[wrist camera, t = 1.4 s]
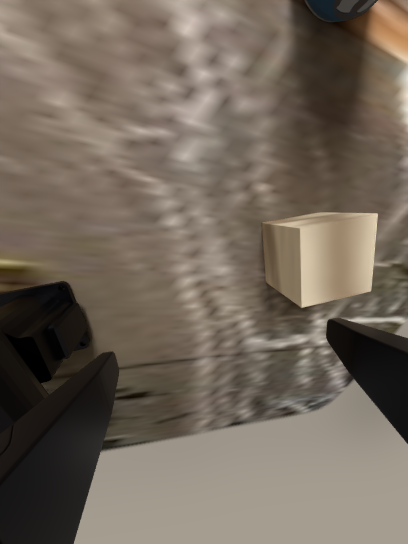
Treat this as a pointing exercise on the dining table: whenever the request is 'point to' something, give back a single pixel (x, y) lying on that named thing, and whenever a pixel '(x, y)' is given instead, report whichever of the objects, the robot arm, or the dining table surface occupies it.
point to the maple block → (320, 256)
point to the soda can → (339, 9)
